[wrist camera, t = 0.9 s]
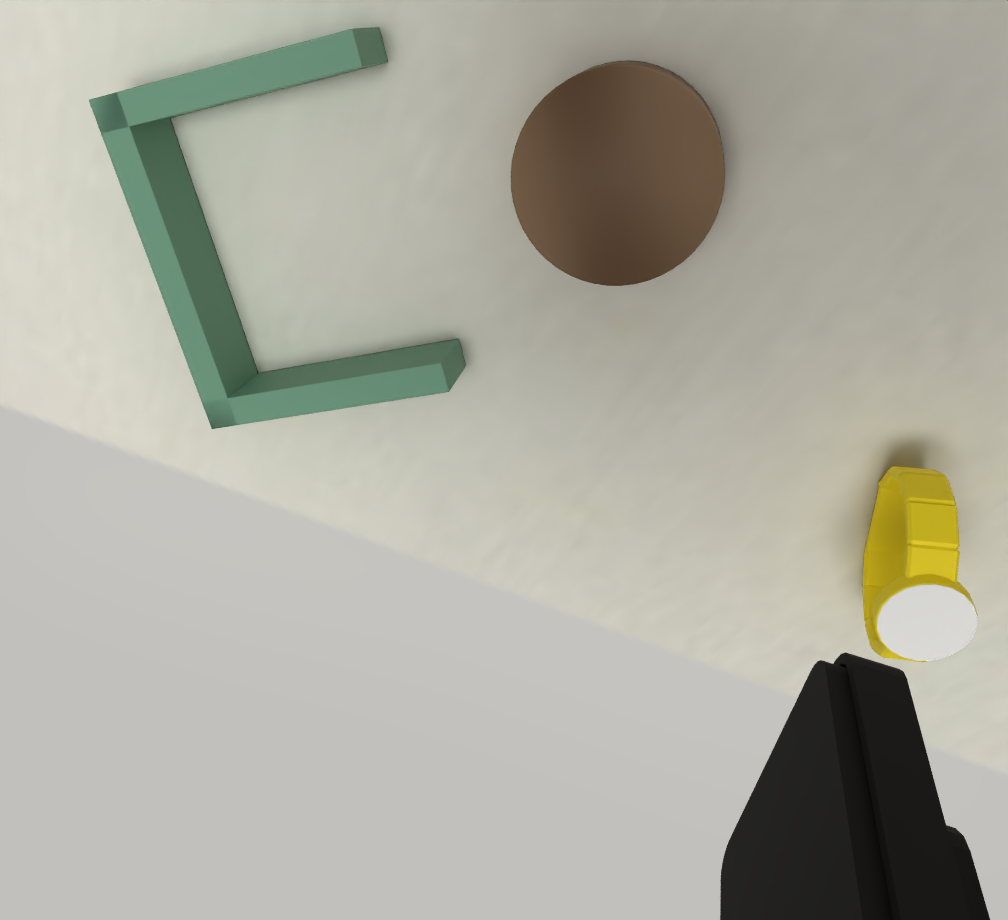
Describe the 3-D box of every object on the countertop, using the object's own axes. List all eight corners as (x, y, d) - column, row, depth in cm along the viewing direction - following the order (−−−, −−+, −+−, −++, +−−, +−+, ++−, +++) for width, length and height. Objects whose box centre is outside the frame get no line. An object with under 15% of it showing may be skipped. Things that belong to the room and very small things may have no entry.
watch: (864, 437, 32) (896, 523, 26) (952, 444, 31) (1003, 533, 26) (835, 589, 34) (859, 696, 29) (916, 598, 34) (956, 708, 28)
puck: (707, 38, 28) (708, 41, 25) (734, 242, 30) (738, 265, 27) (508, 86, 29) (489, 94, 26) (549, 276, 31) (535, 301, 29)
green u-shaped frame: (379, 27, 29) (351, 28, 27) (465, 366, 33) (448, 391, 31) (132, 93, 31) (88, 99, 29) (242, 402, 35) (211, 428, 33)
